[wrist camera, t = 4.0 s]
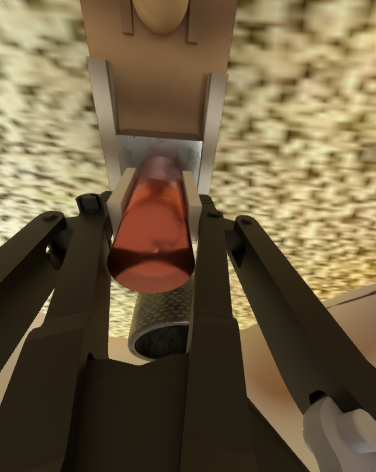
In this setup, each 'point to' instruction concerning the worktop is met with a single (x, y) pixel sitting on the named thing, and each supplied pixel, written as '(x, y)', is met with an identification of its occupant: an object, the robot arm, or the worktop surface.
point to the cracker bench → (159, 75)
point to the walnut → (161, 14)
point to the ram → (155, 211)
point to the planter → (161, 322)
